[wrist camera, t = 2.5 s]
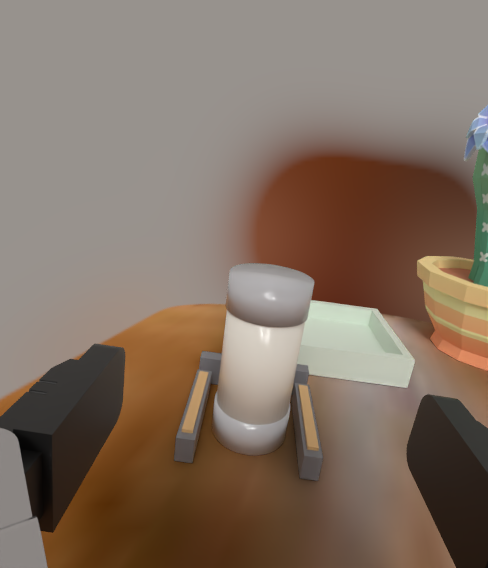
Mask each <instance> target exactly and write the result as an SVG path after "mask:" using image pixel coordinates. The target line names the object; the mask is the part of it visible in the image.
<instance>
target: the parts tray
mask: <svg viewBox="0 0 488 568" xmlns="http://www.w3.org/2000/svg"><path fill="white" fill-rule="evenodd" d="M414 363H415V359H414V358H413V357H412V355H411V354H410V353H409V351H408V350H407V349H406V347H405V346H404V345H403V343H402V342H401V341H400V339H399V338H398V336H397V335H396V334H395V332H394V331H393V330H392V328H391V327H390V326H389V324H388V323H387V322H386V320H385V319H384V318H383V316H382V315H381V314H380V312H379V311H378V309H373V308H366V307H358V306H351V305H343V304H336V303H329V302H322V301H314V300H311V303H310V308H309V313H308V318H307V320H306V321H305V325H304V330H303V335H302V341H301V346H300V351H299V357H298V362H297V364H301V365H308V369H309V375H315V376H323V377H330V378H337V379H345V380H352V381H359V382H366V383H374V384H381V385H388V386H396V387H403V388H407V387H408V384H409V380H410V377H411V374H412V370H413V367H414Z"/></svg>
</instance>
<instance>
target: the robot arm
mask: <svg viewBox="0 0 488 568" xmlns="http://www.w3.org/2000/svg"><path fill="white" fill-rule="evenodd" d="M124 368H125V351H124V348H121V347H114V346H108V345H101V344H94V345H92V346H91V348H90V349H89V350H88V351H87V352H86V353H85V354H84V355H83V356H82V357H81V358H80V359H79V360H74V359H69V360H67V361H65V362H63V363H61V364H59V365H57V366H55V367H53V368H51V369H50V370H49V371H48V372H47V373H46V374H45V375H44V376H43V377H42V378H41V379H40V381H39V382H36V383H35V384H34V385H33V386H32V387H31V388H30V389H29V392H26V393H25V394H24V395H23V396H22V397H21V398H20V399H19V400H18V401H17V402H16V403H14V404H13V405H12V406H11V407H10V408H9V409H8V410H7V411H6V412H5V413H4V414H3V415H2V416H1V417H0V568H48V567H47V562H46V557H45V552H44V547H43V542H42V537H41V532H40V531H46V532H52V533H53V532H54V530H55V528H56V526H57V525H58V523H59V521H60V520H61V518H62V516H63V514H64V513H65V511H66V509H67V507H68V506H69V504H70V502H71V500H72V499H73V497H74V495H75V494H76V492H77V490H78V488H79V487H80V485H81V483H82V481H83V480H84V478H85V476H86V474H87V473H88V471H89V469H90V468H91V466H92V464H93V462H94V461H95V459H96V457H97V455H98V454H99V452H100V450H101V448H102V447H103V445H104V443H105V442H106V440H107V438H108V436H109V435H110V433H111V431H112V429H113V428H114V426H115V424H116V422H117V420H118V418H119V415H120V411H121V407H122V402H123V387H124ZM407 462H408V466H409V469H410V471H411V473H412V475H413V478H414V480H415V482H416V484H417V486H418V488H419V490H420V492H421V494H422V497H423V499H424V501H425V503H426V505H427V507H428V509H429V511H430V513H431V516H432V518H433V520H434V522H435V524H436V526H437V528H438V530H439V532H440V534H441V537H442V539H443V541H444V543H445V545H446V547H447V549H448V551H449V553H450V556H451V558H452V560H453V562H454V564H455V566H456V568H488V428H486V427H485V426H484V425H482V424H481V423H480V422H478V421H476V420H475V419H474V417H473V416H472V415H471V414H470V412H469V411H468V410H467V409H466V408H465V406H464V405H463V404H462V403H461V402H460V401H459V400H458V399H455V398H448V397H442V396H435V395H425V396H424V397H423V398H422V400H421V403H420V406H419V409H418V412H417V415H416V418H415V421H414V425H413V428H412V431H411V434H410V437H409V440H408V444H407Z"/></svg>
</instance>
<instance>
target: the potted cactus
mask: <svg viewBox="0 0 488 568" xmlns="http://www.w3.org/2000/svg"><path fill="white" fill-rule="evenodd" d="M478 116H479V117H478V118H476V119H475V120H473V122H472V124H471V126H470V128H469V131H468V133H467V136H466V138H468V141H467V145H466V149H465V155H464V160H465V161H468V160H469V159H470V157H471V156H472V155H473V153H474V152H475V150H476V149H479V152H478V157H477V161H476V165H475V170H474V175H473V183H474V189H475V196H476V203H477V222H476V236H475V251H474V260H472V259H465V258H458V257H445V256H443V257H442V256H426V257H424V258H422V259H420V260H418V261H417V275H418V277H419V278H421V279H422V280H423V287H424V299H425V307H426V310H427V312H428V314H429V317H430V319H431V321H432V324H433V326H434V328H435V331H434V333H433V334H432V336H431V338H430V339H431V341H432V342H433V343H434V345H435V346H436V347H437V349H439V350H441V351H442V352H444V353H446V354H447V355H449V356H451V357H453V358H454V359H456V360H458V361H461V362H464V363H466V364H469V365H472V366H475V367H477V368H480V369H483V370H487V371H488V105H487V106H486V107H485V108H484V109H483V110H482V111H481V112H480V113H479V114H478Z"/></svg>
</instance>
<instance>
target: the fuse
mask: <svg viewBox="0 0 488 568" xmlns="http://www.w3.org/2000/svg"><path fill="white" fill-rule="evenodd" d="M313 287H314V280H313V279H312V278H311V277H309V276H308V275H306V274H304V273H302V272H299V271H297V270H293V269H290V268H286V267H281V266H277V265H270V264H257V263H255V264H254V263H250V264H240V265H237V266H234V267H232V268H231V269H230V274H229V283H228V292H227V300H226V308H227V314H226V323H225V331H224V339H223V348H222V356H221V365H220V373H219V381H218V390H217V392H216V395H215V401H214V410H213V418H212V432H213V434H214V436H215V438H216V439H217V440H218V441H219V443H221V444H222V445H223V446H224V447H226V448H228V449H230V450H231V451H234V452H236V453H240V454H244V455H264V454H268V453H271V452H273V451H275V450H276V449H278V448H279V447H280V446H281V445H282V444H283V442H284V439H285V435H286V429H287V424H288V419H289V414H290V399H291V394H292V388H293V383H294V378H295V373H296V367H297V362H298V357H299V351H300V346H301V341H302V335H303V330H304V325H305V321H306V320H307V318H308V313H309V308H310V303H311V297H312V292H313Z"/></svg>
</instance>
